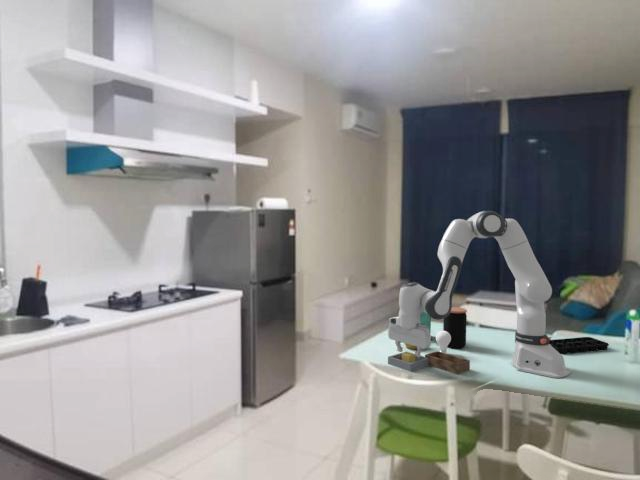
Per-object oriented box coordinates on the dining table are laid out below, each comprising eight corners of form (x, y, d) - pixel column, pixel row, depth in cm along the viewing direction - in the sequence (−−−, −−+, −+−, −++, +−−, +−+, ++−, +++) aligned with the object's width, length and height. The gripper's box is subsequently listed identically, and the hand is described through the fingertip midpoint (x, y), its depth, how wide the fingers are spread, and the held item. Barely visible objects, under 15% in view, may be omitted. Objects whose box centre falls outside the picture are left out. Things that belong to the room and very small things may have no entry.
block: (415, 364, 198) (415, 354, 198) (409, 366, 196) (409, 356, 196) (407, 362, 202) (408, 351, 201) (401, 364, 199) (401, 353, 199)
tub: (428, 366, 198) (429, 358, 198) (410, 372, 190) (410, 363, 190) (406, 359, 207) (406, 351, 207) (387, 364, 200) (388, 356, 199)
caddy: (469, 371, 193) (469, 360, 192) (457, 375, 187) (457, 364, 187) (436, 361, 205) (437, 351, 205) (424, 365, 200) (425, 354, 199)
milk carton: (430, 340, 238) (431, 290, 237) (412, 339, 238) (413, 290, 237) (426, 335, 247) (427, 287, 246) (409, 335, 248) (410, 287, 246)
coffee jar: (463, 343, 233) (464, 307, 232) (467, 349, 222) (469, 311, 221) (441, 342, 234) (442, 306, 233) (444, 348, 223) (445, 311, 222)
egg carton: (612, 350, 225) (613, 342, 225) (571, 359, 211) (572, 350, 211) (577, 341, 240) (578, 334, 240) (537, 348, 227) (537, 341, 226)
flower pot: (417, 352, 218) (417, 336, 218) (397, 348, 224) (397, 333, 224) (426, 347, 226) (426, 332, 226) (407, 343, 232) (407, 328, 232)
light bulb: (440, 351, 219) (440, 328, 218) (453, 354, 214) (454, 330, 213) (432, 354, 214) (433, 330, 214) (445, 358, 210) (446, 333, 209)
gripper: (434, 325, 192) (433, 358, 193) (395, 316, 207) (395, 347, 208) (424, 327, 188) (424, 361, 189) (386, 318, 203) (385, 349, 204)
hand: (408, 354), depth 199 cm, fingers open, 8 cm apart
